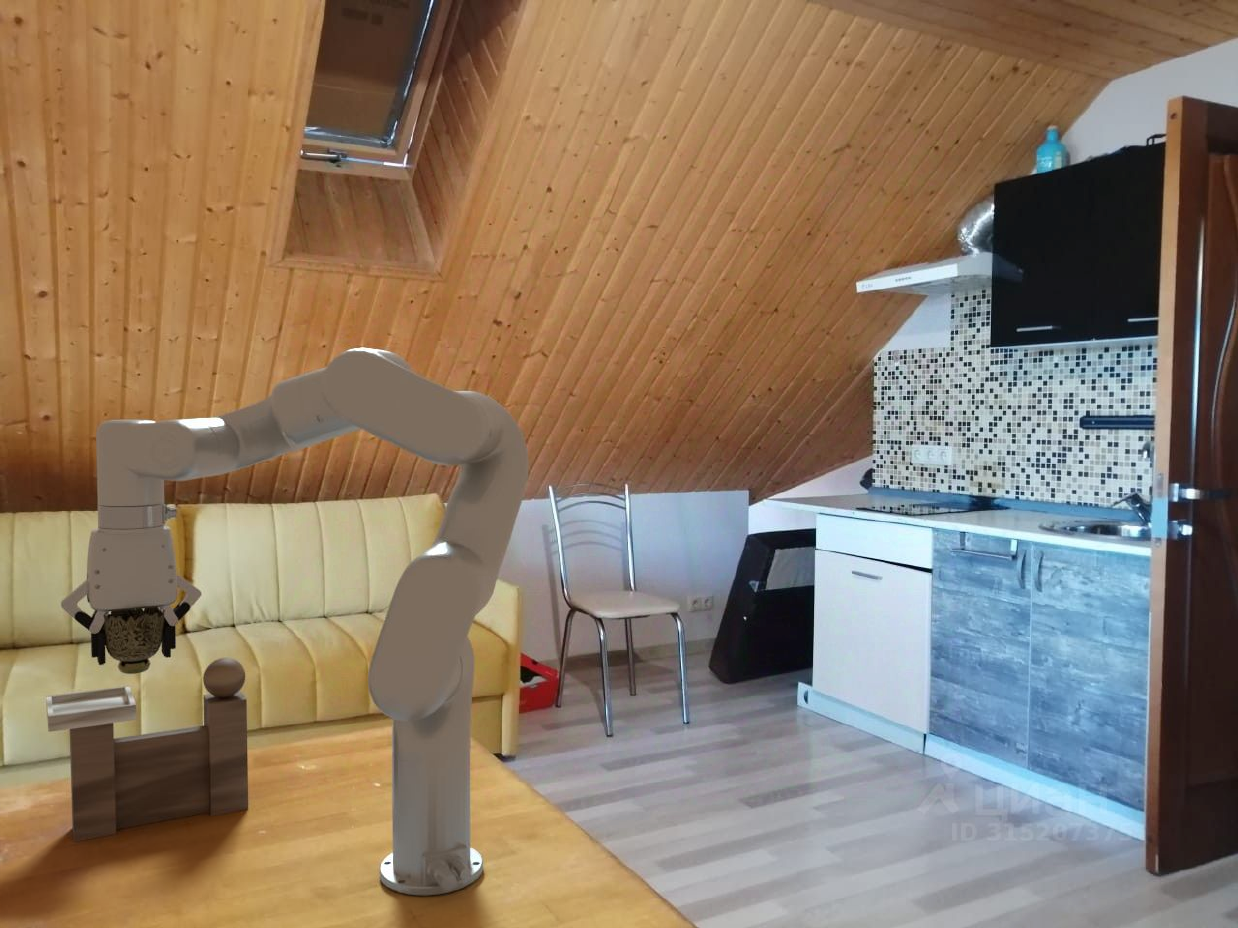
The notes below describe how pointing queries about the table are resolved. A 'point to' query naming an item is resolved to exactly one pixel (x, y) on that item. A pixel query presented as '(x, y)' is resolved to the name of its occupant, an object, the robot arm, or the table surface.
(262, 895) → the table surface
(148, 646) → the cup
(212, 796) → the headboard
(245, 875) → the table surface
